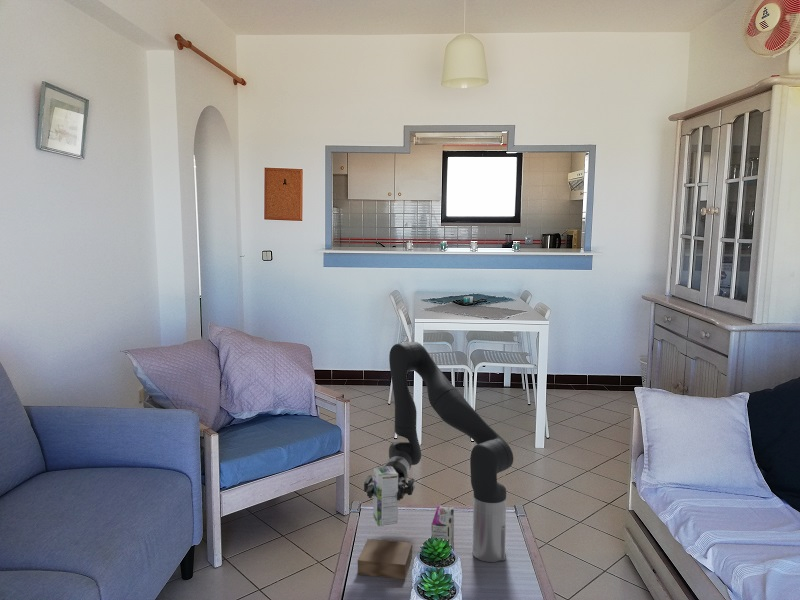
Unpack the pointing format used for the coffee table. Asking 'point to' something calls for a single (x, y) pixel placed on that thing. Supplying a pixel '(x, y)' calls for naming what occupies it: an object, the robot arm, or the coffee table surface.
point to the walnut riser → (385, 558)
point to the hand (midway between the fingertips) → (384, 496)
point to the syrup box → (385, 496)
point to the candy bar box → (444, 524)
